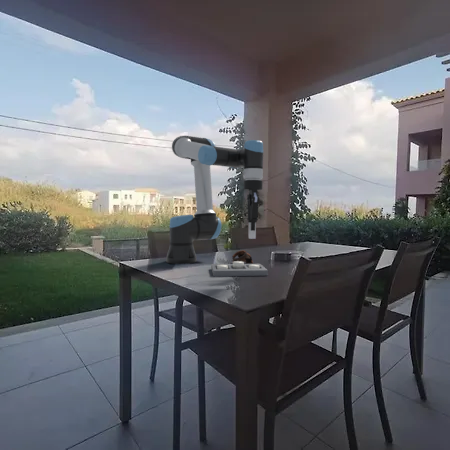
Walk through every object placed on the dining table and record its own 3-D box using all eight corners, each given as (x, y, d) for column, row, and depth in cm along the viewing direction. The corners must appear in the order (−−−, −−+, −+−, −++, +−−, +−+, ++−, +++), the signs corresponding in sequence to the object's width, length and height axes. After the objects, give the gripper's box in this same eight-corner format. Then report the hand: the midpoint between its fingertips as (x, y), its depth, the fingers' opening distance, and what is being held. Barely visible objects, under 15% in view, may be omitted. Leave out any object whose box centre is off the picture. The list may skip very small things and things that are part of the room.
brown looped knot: (257, 268, 140) (250, 253, 137) (238, 277, 140) (231, 262, 137) (251, 257, 151) (244, 244, 149) (234, 265, 151) (227, 252, 149)
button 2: (247, 270, 126) (247, 264, 126) (258, 269, 126) (258, 264, 126) (249, 272, 121) (249, 266, 121) (260, 272, 122) (260, 266, 122)
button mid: (232, 266, 125) (232, 261, 125) (242, 266, 125) (242, 261, 125) (233, 268, 121) (233, 263, 120) (244, 268, 121) (244, 263, 121)
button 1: (216, 270, 124) (216, 264, 124) (227, 270, 125) (227, 264, 125) (217, 272, 120) (217, 266, 120) (228, 272, 120) (228, 266, 120)
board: (211, 271, 129) (211, 264, 129) (259, 271, 131) (259, 263, 131) (213, 279, 115) (213, 270, 115) (267, 278, 117) (267, 270, 117)
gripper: (241, 181, 128) (240, 236, 129) (247, 178, 115) (245, 240, 116) (258, 181, 129) (257, 236, 130) (266, 178, 116) (264, 240, 117)
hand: (252, 238), depth 123 cm, fingers closed
